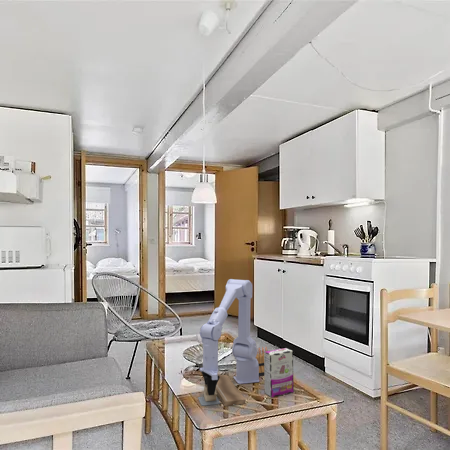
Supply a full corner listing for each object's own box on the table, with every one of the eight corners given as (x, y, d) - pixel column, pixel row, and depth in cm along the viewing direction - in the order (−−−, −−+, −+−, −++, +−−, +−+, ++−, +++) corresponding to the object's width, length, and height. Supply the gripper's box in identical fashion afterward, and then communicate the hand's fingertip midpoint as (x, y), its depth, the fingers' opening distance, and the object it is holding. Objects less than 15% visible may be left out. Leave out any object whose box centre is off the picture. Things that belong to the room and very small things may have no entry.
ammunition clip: (251, 377, 159) (248, 348, 163) (249, 377, 160) (246, 348, 164) (272, 373, 163) (268, 345, 167) (270, 373, 165) (266, 346, 168)
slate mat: (215, 396, 139) (215, 395, 139) (220, 403, 133) (220, 402, 133) (197, 398, 137) (197, 397, 137) (201, 406, 131) (201, 405, 131)
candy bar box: (286, 388, 147) (286, 347, 148) (294, 392, 143) (293, 350, 144) (263, 393, 142) (263, 351, 143) (270, 398, 138) (270, 354, 139)
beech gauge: (214, 397, 137) (214, 381, 138) (216, 400, 134) (216, 383, 135) (204, 398, 136) (204, 382, 136) (205, 401, 133) (205, 385, 134)
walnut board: (226, 378, 158) (226, 374, 158) (245, 403, 133) (245, 399, 133) (208, 380, 155) (208, 376, 156) (224, 406, 130) (224, 401, 131)
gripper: (196, 351, 142) (196, 386, 141) (204, 363, 128) (203, 402, 127) (213, 350, 144) (213, 384, 143) (223, 361, 130) (223, 399, 129)
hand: (210, 392), depth 135 cm, fingers closed on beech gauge, 3 cm apart
